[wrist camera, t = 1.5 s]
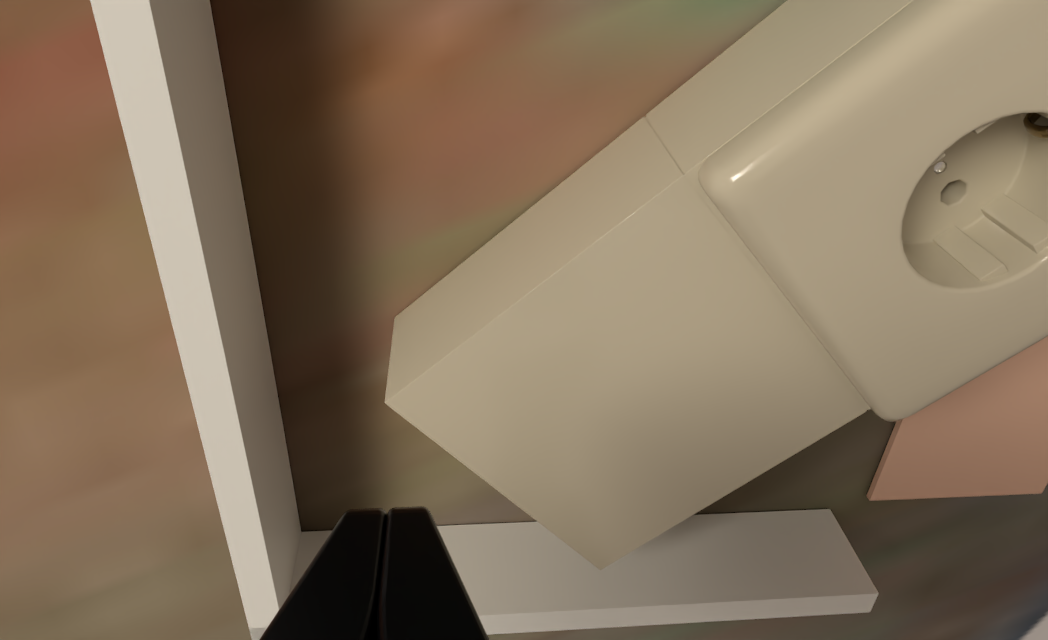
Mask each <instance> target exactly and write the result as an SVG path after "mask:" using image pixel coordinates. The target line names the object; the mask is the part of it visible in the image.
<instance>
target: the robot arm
mask: <svg viewBox="0 0 1048 640" xmlns="http://www.w3.org/2000/svg"><path fill="white" fill-rule="evenodd" d="M259 640H489V638H488V636H487V634H486V632H485V629H484V627H483V625H482V623H481V621H480V619H479V616H478V614H477V612H476V610H475V608H474V606H473V603H472V601H471V599H470V597H469V595H468V593H467V590H466V588H465V586H464V584H463V582H462V580H461V577H460V575H459V573H458V571H457V569H456V567H455V564H454V562H453V560H452V558H451V556H450V554H449V551H448V549H447V547H446V545H445V543H444V541H443V538H442V536H441V534H440V532H439V530H438V528H437V525H436V523H435V521H434V519H433V517H432V515H431V513H430V511H429V510H428V509H427V508H426V507H422V506H420V507H395V508H392V509H390V510H389V512H388V514H387V513H386V511H385V510H383V509H382V508H371V509H351V510H348V511H347V512H345V513H344V514H343V516H342V517H341V518H340V520H339V521H338V523H337V524H336V526H335V527H334V529H333V530H332V532H331V533H330V535H329V536H328V538H327V539H326V541H325V542H324V544H323V545H322V547H321V548H320V550H319V551H318V553H317V554H316V556H315V557H314V559H313V560H312V562H311V563H310V565H309V566H308V568H307V569H306V571H305V572H304V574H303V575H302V576H301V578H300V579H299V581H298V582H297V584H296V585H295V587H294V588H293V590H292V591H291V593H290V594H289V596H288V597H287V599H286V600H285V602H284V603H283V605H282V606H281V608H280V609H279V611H278V612H277V614H276V615H275V617H274V618H273V620H272V621H271V623H270V624H269V626H268V627H267V629H266V630H265V632H264V633H263V635H262V636H261V638H260V639H259Z"/></svg>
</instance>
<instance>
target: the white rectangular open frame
mask: <svg viewBox="0 0 1048 640" xmlns="http://www.w3.org/2000/svg"><path fill="white" fill-rule="evenodd" d="M90 1H91V5H92V9H93V13H94V17H95V21H96V25H97V29H98V33H99V37H100V41H101V45H102V49H103V52H104V56H105V60H106V64H107V68H108V72H109V76H110V80H111V84H112V88H113V92H114V96H115V100H116V104H117V108H118V112H119V116H120V120H121V124H122V128H123V132H124V136H125V139H126V143H127V147H128V151H129V155H130V159H131V163H132V167H133V171H134V175H135V179H136V183H137V187H138V191H139V195H140V199H141V203H142V207H143V211H144V215H145V219H146V223H147V226H148V230H149V234H150V238H151V242H152V246H153V250H154V254H155V258H156V262H157V266H158V270H159V274H160V278H161V282H162V286H163V290H164V294H165V298H166V302H167V306H168V310H169V313H170V317H171V321H172V325H173V329H174V333H175V337H176V341H177V345H178V349H179V353H180V357H181V361H182V365H183V369H184V373H185V377H186V381H187V385H188V389H189V393H190V397H191V401H192V404H193V408H194V412H195V416H196V420H197V424H198V428H199V432H200V436H201V440H202V444H203V448H204V452H205V456H206V460H207V464H208V468H209V472H210V476H211V480H212V484H213V488H214V491H215V495H216V499H217V503H218V507H219V511H220V515H221V519H222V523H223V527H224V531H225V535H226V539H227V543H228V547H229V551H230V555H231V559H232V563H233V567H234V571H235V575H236V578H237V582H238V586H239V590H240V594H241V598H242V602H243V606H244V610H245V614H246V618H247V622H248V626H249V630H250V634H251V638H252V640H259V639H260V638H261V636H262V635H263V633H264V632H265V630H266V629H267V627H268V626H269V624H270V623H271V621H272V620H273V618H274V617H275V615H276V614H277V612H278V611H279V609H280V608H281V606H282V605H283V603H284V602H285V600H286V599H287V597H288V596H289V594H290V593H291V591H292V590H293V588H294V587H295V585H296V584H297V582H298V581H299V579H300V578H301V576H302V575H303V574H304V572H305V571H306V569H307V568H308V566H309V565H310V563H311V562H312V560H313V559H314V557H315V556H316V554H317V553H318V551H319V550H320V548H321V547H322V545H323V544H324V542H325V541H326V539H327V538H328V536H329V535H330V533H331V532H332V531H309V532H301V527H300V521H299V515H298V509H297V504H296V498H295V492H294V486H293V480H292V475H291V469H290V463H289V457H288V451H287V446H286V440H285V434H284V428H283V422H282V417H281V411H280V405H279V399H278V393H277V388H276V382H275V376H274V370H273V364H272V359H271V353H270V347H269V341H268V335H267V330H266V324H265V318H264V312H263V306H262V301H261V295H260V289H259V283H258V278H257V272H256V266H255V260H254V254H253V249H252V243H251V237H250V231H249V225H248V220H247V214H246V208H245V202H244V196H243V191H242V185H241V179H240V173H239V167H238V162H237V156H236V150H235V144H234V138H233V133H232V127H231V121H230V115H229V109H228V104H227V98H226V92H225V86H224V80H223V75H222V69H221V63H220V57H219V52H218V46H217V40H216V34H215V28H214V23H213V17H212V11H211V5H210V0H90ZM437 528H438V530H439V532H440V534H441V536H442V538H443V541H444V543H445V545H446V547H447V549H448V551H449V554H450V556H451V558H452V560H453V562H454V564H455V567H456V569H457V571H458V573H459V575H460V577H461V580H462V582H463V584H464V586H465V588H466V590H467V593H468V595H469V597H470V599H471V601H472V603H473V606H474V608H475V610H476V612H477V614H478V616H479V619H480V621H481V623H482V625H483V627H484V629H485V632H486V634H487V635H489V634H506V633H523V632H541V631H558V630H575V629H592V628H609V627H626V626H644V625H661V624H678V623H695V622H712V621H730V620H747V619H764V618H781V617H798V616H816V615H833V614H850V613H867V612H870V611H871V609H872V607H873V605H874V603H875V601H876V598H877V596H878V594H879V593H878V591H877V590H876V588H875V586H874V584H873V583H872V581H871V579H870V577H869V576H868V574H867V572H866V570H865V569H864V567H863V565H862V564H861V562H860V560H859V558H858V557H857V555H856V553H855V551H854V550H853V548H852V546H851V544H850V543H849V541H848V539H847V538H846V536H845V534H844V532H843V531H842V529H841V527H840V525H839V524H838V522H837V520H836V518H835V517H834V515H833V513H832V511H831V510H830V509H818V510H795V511H772V512H749V513H726V514H702V515H692V516H690V517H689V518H687V519H685V520H684V521H682V522H680V523H679V524H677V525H675V526H674V527H672V528H670V529H669V530H667V531H665V532H664V533H662V534H660V535H659V536H657V537H655V538H654V539H652V540H650V541H649V542H647V543H645V544H643V545H642V546H640V547H638V548H637V549H635V550H633V551H632V552H630V553H628V554H627V555H625V556H623V557H622V558H620V559H618V560H617V561H615V562H613V563H612V564H610V565H608V566H607V567H605V568H603V569H602V570H599V569H598V568H597V567H595V566H594V565H593V564H592V563H590V562H589V561H588V560H586V559H585V558H584V557H583V556H581V555H580V554H579V553H577V552H576V551H575V550H574V549H572V548H571V547H570V546H568V545H567V544H566V543H565V542H563V541H562V540H561V539H559V538H558V537H557V536H555V535H554V534H553V533H552V532H550V531H549V530H548V529H546V528H545V527H544V526H543V525H541V524H540V523H539V522H517V523H494V524H471V525H448V526H437Z"/></svg>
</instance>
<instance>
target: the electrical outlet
mask: <svg viewBox="0 0 1048 640" xmlns="http://www.w3.org/2000/svg"><path fill="white" fill-rule="evenodd" d="M1047 336H1048V0H787V1H786V2H785V3H784V4H782V5H781V6H780V7H779V8H777V9H776V10H775V11H774V12H773V13H771V14H770V15H769V16H768V17H766V18H765V19H764V20H763V21H761V22H760V23H759V24H758V25H756V26H755V27H754V28H753V29H751V30H750V31H749V32H748V33H747V34H745V35H744V36H743V37H742V38H740V39H739V40H738V41H737V42H735V43H734V44H733V45H732V46H730V47H729V48H728V49H727V50H725V51H724V52H723V53H722V54H720V55H719V56H718V57H717V58H716V59H714V60H713V61H712V62H711V63H709V64H708V65H707V66H706V67H704V68H703V69H702V70H701V71H699V72H698V73H697V74H696V75H694V76H693V77H692V78H691V79H690V80H688V81H687V82H686V83H685V84H683V85H682V86H681V87H680V88H678V89H677V90H676V91H675V92H673V93H672V94H671V95H670V96H668V97H667V98H666V99H665V100H663V101H662V102H661V103H660V104H659V105H657V106H656V107H655V108H654V109H652V110H651V111H650V112H649V113H647V114H646V117H642V118H641V119H640V120H639V121H637V122H636V123H635V124H634V125H633V126H631V127H630V128H629V129H628V130H626V131H625V132H624V133H623V134H621V135H620V136H619V137H618V138H616V139H615V140H614V141H613V142H611V143H610V144H609V145H608V146H607V147H605V148H604V149H603V150H602V151H600V152H599V153H598V154H597V155H595V156H594V157H593V158H592V159H590V160H589V161H588V162H587V163H585V164H584V165H583V166H582V167H580V168H579V169H578V170H577V171H576V172H574V173H573V174H572V175H571V176H569V177H568V178H567V179H566V180H564V181H563V182H562V183H561V184H559V185H558V186H557V187H556V188H554V189H553V190H552V191H551V192H550V193H548V194H547V195H546V196H545V197H543V198H542V199H541V200H540V201H538V202H537V203H536V204H535V205H533V206H532V207H531V208H530V209H528V210H527V211H526V212H525V213H523V214H522V215H521V216H520V217H519V218H517V219H516V220H515V221H514V222H512V223H511V224H510V225H509V226H507V227H506V228H505V229H504V230H502V231H501V232H500V233H499V234H497V235H496V236H495V237H494V238H493V239H491V240H490V241H489V242H488V243H486V244H485V245H484V246H483V247H481V248H480V249H479V250H478V251H476V252H475V253H474V254H473V255H471V256H470V257H469V258H468V259H467V260H465V261H464V262H463V263H462V264H460V265H459V266H458V267H457V268H455V269H454V270H453V271H452V272H450V273H449V274H448V275H447V276H445V277H444V278H443V279H442V280H440V281H439V282H438V283H437V284H436V285H434V286H433V287H432V288H431V289H429V290H428V291H427V292H426V293H424V294H423V295H422V296H421V297H419V298H418V299H417V300H416V301H414V302H413V303H412V304H411V305H410V306H408V307H407V308H406V309H405V310H403V311H402V312H401V313H400V314H398V315H397V316H396V317H395V320H394V328H393V337H392V345H391V353H390V362H389V370H388V378H387V387H386V395H385V404H386V405H388V406H389V407H390V408H392V409H393V410H394V411H395V412H397V413H398V414H399V415H401V416H402V417H403V418H405V419H406V420H407V421H408V422H410V423H411V424H412V425H414V426H415V427H416V428H417V429H419V430H420V431H421V432H423V433H424V434H425V435H426V436H428V437H429V438H430V439H432V440H433V441H434V442H435V443H437V444H438V445H439V446H441V447H442V448H443V449H445V450H446V451H447V452H448V453H450V454H451V455H452V456H454V457H455V458H456V459H457V460H459V461H460V462H461V463H463V464H464V465H465V466H466V467H468V468H469V469H470V470H472V471H473V472H474V473H475V474H477V475H478V476H479V477H481V478H482V479H483V480H485V481H486V482H487V483H488V484H490V485H491V486H492V487H494V488H495V489H496V490H497V491H499V492H500V493H501V494H503V495H504V496H505V497H506V498H508V499H509V500H510V501H512V502H513V503H514V504H515V505H517V506H518V507H519V508H521V509H522V510H523V511H525V512H526V513H527V514H528V515H530V516H531V517H532V518H534V519H535V520H536V521H537V522H539V523H540V524H541V525H543V526H544V527H545V528H546V529H548V530H549V531H550V532H552V533H553V534H554V535H555V536H557V537H558V538H559V539H561V540H562V541H563V542H565V543H566V544H567V545H568V546H570V547H571V548H572V549H574V550H575V551H576V552H577V553H579V554H580V555H581V556H583V557H584V558H585V559H586V560H588V561H589V562H590V563H592V564H593V565H594V566H595V567H597V568H598V569H599V570H602V569H603V568H605V567H607V566H608V565H610V564H612V563H613V562H615V561H617V560H618V559H620V558H622V557H623V556H625V555H627V554H628V553H630V552H632V551H633V550H635V549H637V548H638V547H640V546H642V545H643V544H645V543H647V542H649V541H650V540H652V539H654V538H655V537H657V536H659V535H660V534H662V533H664V532H665V531H667V530H669V529H670V528H672V527H674V526H675V525H677V524H679V523H680V522H682V521H684V520H685V519H687V518H689V517H690V516H692V515H694V514H695V513H697V512H699V511H700V510H702V509H704V508H706V507H707V506H709V505H711V504H712V503H714V502H716V501H717V500H719V499H721V498H722V497H724V496H726V495H727V494H729V493H731V492H732V491H734V490H736V489H737V488H739V487H741V486H742V485H744V484H746V483H747V482H749V481H751V480H752V479H754V478H756V477H757V476H759V475H761V474H762V473H764V472H766V471H768V470H769V469H771V468H773V467H774V466H776V465H778V464H779V463H781V462H783V461H784V460H786V459H788V458H789V457H791V456H793V455H794V454H796V453H798V452H799V451H801V450H803V449H804V448H806V447H808V446H809V445H811V444H813V443H814V442H816V441H818V440H819V439H821V438H823V437H824V436H826V435H828V434H830V433H831V432H833V431H835V430H836V429H838V428H840V427H841V426H843V425H845V424H846V423H848V422H850V421H851V420H853V419H855V418H856V417H858V416H860V415H861V414H863V413H865V412H866V410H867V409H868V410H870V409H872V411H873V412H874V413H875V414H876V415H877V416H878V417H880V418H882V419H883V420H885V421H889V422H895V421H900V420H902V419H904V418H907V417H909V416H911V415H913V414H915V413H917V412H919V411H920V410H922V409H924V408H926V407H927V406H929V405H931V404H932V403H934V402H936V401H938V400H939V399H941V398H943V397H944V396H946V395H948V394H950V393H951V392H953V391H955V390H956V389H958V388H960V387H962V386H963V385H965V384H967V383H968V382H970V381H972V380H974V379H975V378H977V377H979V376H980V375H982V374H984V373H986V372H987V371H989V370H991V369H992V368H994V367H996V366H998V365H999V364H1001V363H1003V362H1004V361H1006V360H1008V359H1010V358H1011V357H1013V356H1015V355H1016V354H1018V353H1020V352H1022V351H1023V350H1025V349H1027V348H1028V347H1030V346H1032V345H1034V344H1035V343H1037V342H1039V341H1040V340H1042V339H1044V338H1046V337H1047Z"/></svg>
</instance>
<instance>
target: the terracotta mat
mask: <svg viewBox="0 0 1048 640" xmlns="http://www.w3.org/2000/svg"><path fill="white" fill-rule="evenodd" d="M1047 483H1048V336H1047V337H1046V338H1044V339H1042V340H1040V341H1039V342H1037V343H1035V344H1034V345H1032V346H1030V347H1028V348H1027V349H1025V350H1023V351H1022V352H1020V353H1018V354H1016V355H1015V356H1013V357H1011V358H1010V359H1008V360H1006V361H1004V362H1003V363H1001V364H999V365H998V366H996V367H994V368H992V369H991V370H989V371H987V372H986V373H984V374H982V375H980V376H979V377H977V378H975V379H974V380H972V381H970V382H968V383H967V384H965V385H963V386H962V387H960V388H958V389H956V390H955V391H953V392H951V393H950V394H948V395H946V396H944V397H943V398H941V399H939V400H938V401H936V402H934V403H932V404H931V405H929V406H927V407H926V408H924V409H922V410H920V411H919V412H917V413H915V414H913V415H911V416H909V417H907V418H904V419H902V420H900V421H896V424H895V426H894V429H893V431H892V434H891V436H890V439H889V441H888V444H887V446H886V449H885V451H884V454H883V456H882V459H881V461H880V463H879V466H878V468H877V471H876V473H875V476H874V478H873V481H872V483H871V486H870V488H869V491H868V493H867V497H868V499H869V501H876V500H900V499H923V498H947V497H971V496H994V495H1018V494H1041V493H1042V492H1043V490H1044V488H1045V487H1046V485H1047Z"/></svg>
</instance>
